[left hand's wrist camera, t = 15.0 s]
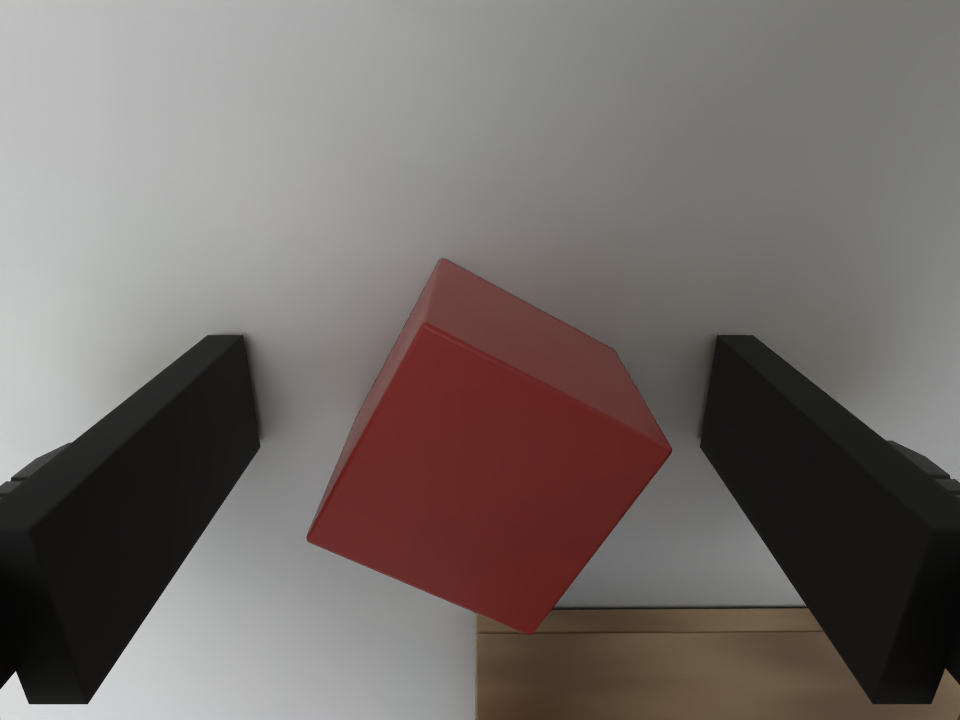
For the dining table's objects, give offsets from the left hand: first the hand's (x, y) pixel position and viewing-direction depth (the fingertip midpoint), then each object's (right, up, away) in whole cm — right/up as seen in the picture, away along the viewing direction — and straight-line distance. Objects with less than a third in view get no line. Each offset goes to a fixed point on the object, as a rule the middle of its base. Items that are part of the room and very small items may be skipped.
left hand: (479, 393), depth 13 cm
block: (0, 0, 0) cm, 0 cm away
